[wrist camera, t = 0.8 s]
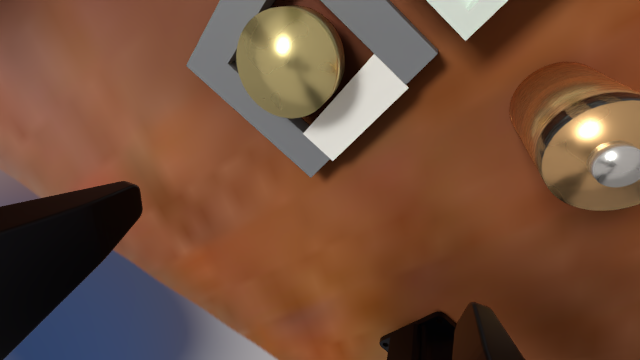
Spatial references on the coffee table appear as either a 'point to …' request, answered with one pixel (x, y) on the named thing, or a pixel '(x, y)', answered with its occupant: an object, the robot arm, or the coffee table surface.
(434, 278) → the coffee table surface
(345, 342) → the coffee table surface
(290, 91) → the brass plunger
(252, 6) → the grey square tray
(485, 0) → the trough
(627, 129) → the copper cell
